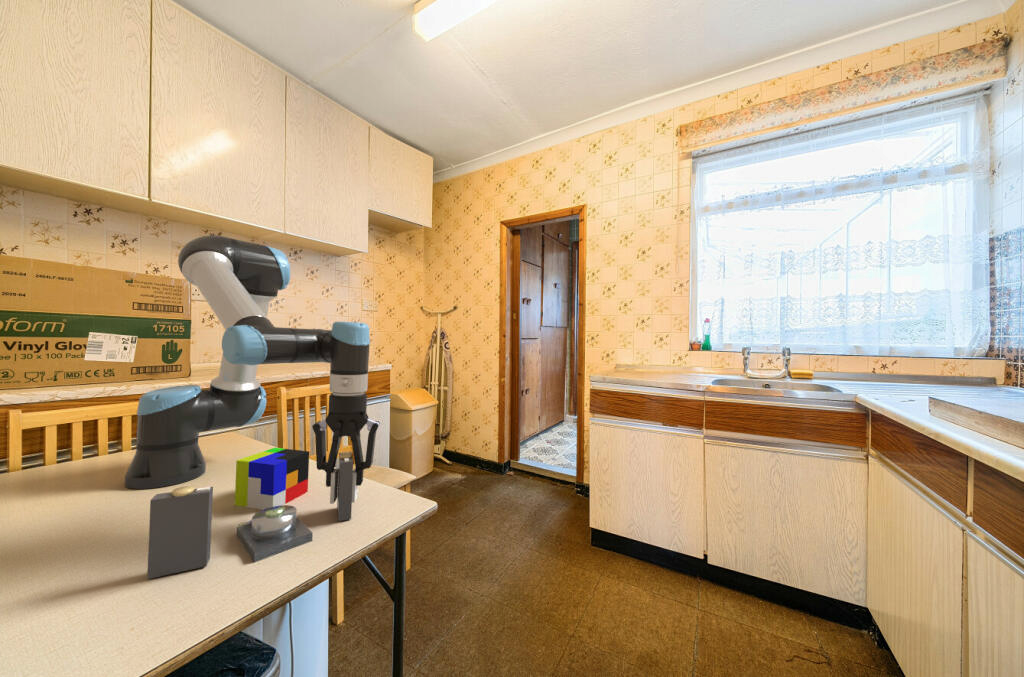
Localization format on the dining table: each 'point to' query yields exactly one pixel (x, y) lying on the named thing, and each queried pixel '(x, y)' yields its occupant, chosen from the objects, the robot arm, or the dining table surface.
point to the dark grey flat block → (179, 530)
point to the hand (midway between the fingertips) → (343, 499)
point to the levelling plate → (275, 543)
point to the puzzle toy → (271, 478)
